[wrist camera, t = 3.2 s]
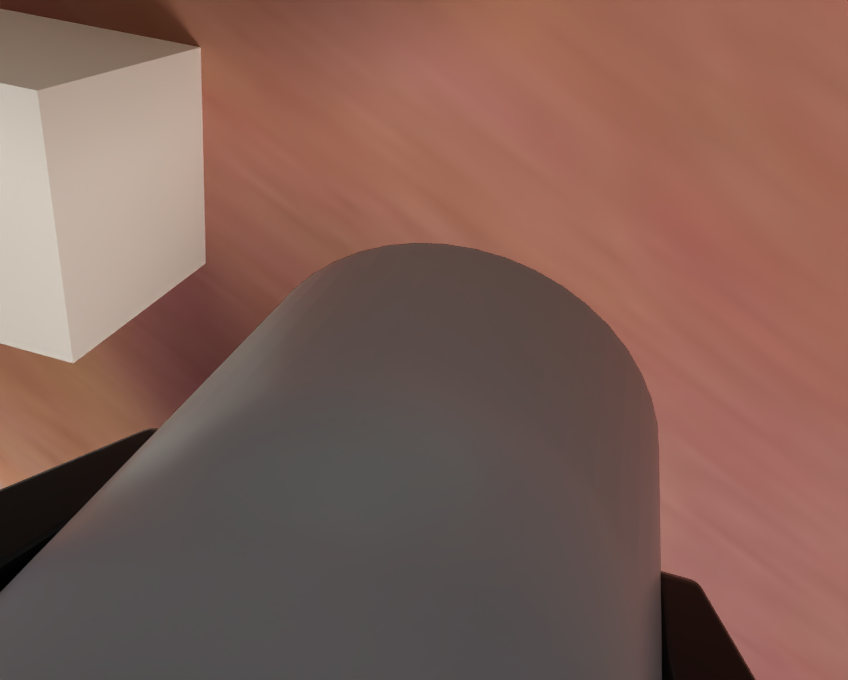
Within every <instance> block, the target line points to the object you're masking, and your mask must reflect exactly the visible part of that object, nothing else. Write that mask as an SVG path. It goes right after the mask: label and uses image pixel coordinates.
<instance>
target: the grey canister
mask: <svg viewBox="0 0 848 680" xmlns="http://www.w3.org/2000/svg"><path fill="white" fill-rule="evenodd" d="M0 680H662V626H661V558H660V489H659V442H658V426H657V420H656V416H655V411H654V407H653V403H652V398H651V396H650V393H649V391H648V388H647V386H646V383H645V381H644V378H643V376H642V373H641V372H640V370H639V368H638V367H637V365H636V363H635V361H634V360H633V358H632V356H631V355H630V353H629V351H628V349H627V348H626V347H625V346H624V344H623V343H622V342H621V340H620V339H619V338H618V337H617V335H616V334H615V333H614V332H613V330H612V329H611V328H610V326H609V325H608V324H607V323H606V322H605V321H603V320H602V319H601V318H600V317H599V316H598V315H597V314H596V313H595V312H594V311H593V310H592V309H591V308H590V307H589V306H588V305H587V304H586V303H584V302H583V301H582V300H580V299H579V298H578V297H576V296H575V295H574V294H572V293H571V292H570V291H568V290H567V289H566V288H564V287H563V286H562V285H560V284H558V283H556V282H555V281H553V280H551V279H549V278H548V277H546V276H544V275H542V274H541V273H539V272H537V271H535V270H533V269H531V268H529V267H526V266H524V265H522V264H519V263H517V262H515V261H512V260H510V259H507V258H505V257H501V256H498V255H494V254H491V253H488V252H484V251H481V250H477V249H472V248H466V247H460V246H454V245H448V244H429V243H410V244H399V245H388V246H383V247H378V248H374V249H370V250H366V251H361V252H358V253H355V254H353V255H350V256H348V257H345V258H342V259H340V260H337V261H335V262H333V263H331V264H329V265H328V266H326V267H324V268H322V269H321V270H319V271H317V272H315V273H314V274H312V275H311V276H310V277H308V278H307V279H306V280H305V281H303V282H302V283H301V284H300V285H299V286H297V287H296V288H295V289H294V290H293V291H292V292H291V293H290V294H289V295H288V296H287V297H286V298H285V299H284V300H283V301H282V302H281V303H280V304H279V305H278V306H277V307H276V308H275V309H274V310H273V311H272V312H271V313H270V314H269V315H268V316H267V318H266V319H265V320H264V321H263V322H262V323H261V324H260V325H259V326H258V327H257V328H256V329H255V330H254V331H253V332H252V333H251V334H250V335H249V336H248V337H247V338H246V339H245V340H244V341H243V342H242V343H241V344H240V345H239V346H238V347H237V348H236V350H235V351H234V352H233V353H232V354H231V355H230V356H229V357H228V358H227V359H226V360H225V361H224V362H223V363H222V364H221V365H220V366H219V367H218V368H217V369H216V370H215V371H214V372H213V373H212V374H211V375H210V376H209V377H208V378H207V379H206V380H205V382H204V383H203V384H202V385H201V386H200V387H199V388H198V389H197V390H196V391H195V392H194V393H193V394H192V395H191V396H190V397H189V398H188V399H187V400H186V401H185V402H184V403H183V404H182V405H181V406H180V407H179V408H178V409H177V410H176V411H175V412H174V414H173V415H172V416H171V417H170V418H169V419H168V420H167V421H166V422H165V423H164V424H163V425H162V426H161V427H160V428H159V429H158V430H157V431H156V432H155V433H154V434H153V435H152V436H151V437H150V438H149V439H148V440H147V441H146V442H145V443H144V444H143V446H142V447H141V448H140V449H139V450H138V451H137V452H136V453H135V454H134V455H133V456H132V457H131V458H130V459H129V460H128V461H127V462H126V463H125V464H124V465H123V466H122V467H121V468H120V469H119V470H118V471H117V472H116V473H115V474H114V475H113V476H112V478H111V479H110V480H109V481H108V482H107V483H106V484H105V485H104V486H103V487H102V488H101V489H100V490H99V491H98V492H97V493H96V494H95V495H94V496H93V497H92V498H91V499H90V500H89V501H88V502H87V503H86V504H85V505H84V506H83V507H82V508H81V510H80V511H79V512H78V513H77V514H76V515H75V516H74V517H73V518H72V519H71V520H70V521H69V522H68V523H67V524H66V525H65V526H64V527H63V528H62V529H61V530H60V531H59V532H58V533H57V534H56V535H55V536H54V537H53V538H52V539H51V540H50V542H49V543H48V544H47V545H46V546H45V547H44V548H43V549H42V550H41V551H40V552H39V553H38V554H37V555H36V556H35V557H34V558H33V559H32V560H31V561H30V562H29V563H28V564H27V565H26V566H25V567H24V568H23V569H22V570H21V571H20V572H19V574H18V575H17V576H16V577H15V578H14V579H13V580H12V581H11V582H10V583H9V584H8V585H7V586H6V587H5V588H4V589H3V590H2V591H1V592H0Z"/></svg>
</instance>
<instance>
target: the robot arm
mask: <svg viewBox="0 0 848 680" xmlns="http://www.w3.org/2000/svg"><path fill="white" fill-rule="evenodd" d="M157 430H158V429H155V428H150V429H146V430H143V431H141V432H138V433H136V434H133V435H131V436H129V437H126V438H124V439H121V440H119V441H117V442H114V443H112V444H109V445H107V446H104V447H102V448H100V449H97V450H95V451H92V452H90V453H88V454H85V455H83V456H80V457H78V458H75V459H73V460H71V461H68V462H66V463H63V464H61V465H59V466H56V467H54V468H51V469H49V470H47V471H44V472H42V473H39V474H37V475H34V476H32V477H30V478H27V479H25V480H22V481H20V482H18V483H15V484H13V485H10V486H8V487H5V488H3V489H1V490H0V592H1V591H2V590H3V589H4V588H5V587H6V586H7V585H8V584H9V583H10V582H11V581H12V580H13V579H14V578H15V577H16V576H17V575H18V574H19V572H20V571H21V570H22V569H23V568H24V567H25V566H26V565H27V564H28V563H29V562H30V561H31V560H32V559H33V558H34V557H35V556H36V555H37V554H38V553H39V552H40V551H41V550H42V549H43V548H44V547H45V546H46V545H47V544H48V543H49V542H50V540H51V539H52V538H53V537H54V536H55V535H56V534H57V533H58V532H59V531H60V530H61V529H62V528H63V527H64V526H65V525H66V524H67V523H68V522H69V521H70V520H71V519H72V518H73V517H74V516H75V515H76V514H77V513H78V512H79V511H80V510H81V508H82V507H83V506H84V505H85V504H86V503H87V502H88V501H89V500H90V499H91V498H92V497H93V496H94V495H95V494H96V493H97V492H98V491H99V490H100V489H101V488H102V487H103V486H104V485H105V484H106V483H107V482H108V481H109V480H110V479H111V478H112V476H113V475H114V474H115V473H116V472H117V471H118V470H119V469H120V468H121V467H122V466H123V465H124V464H125V463H126V462H127V461H128V460H129V459H130V458H131V457H132V456H133V455H134V454H135V453H136V452H137V451H138V450H139V449H140V448H141V447H142V446H143V444H144V443H145V442H146V441H147V440H148V439H149V438H150V437H151V436H152V435H153V434H154V433H155V432H156V431H157ZM661 626H662V680H755V678H754V676H753V674H752V673H751V671H750V669H749V668H748V666H747V664H746V663H745V661H744V659H743V657H742V656H741V654H740V652H739V651H738V649H737V647H736V645H735V644H734V642H733V640H732V639H731V637H730V635H729V634H728V632H727V630H726V628H725V627H724V625H723V623H722V622H721V620H720V618H719V616H718V615H717V613H716V611H715V610H714V608H713V606H712V605H711V603H710V601H709V599H708V598H707V596H706V594H705V593H704V591H703V589H702V588H701V586H700V585H699V584H698V583H697V582H695V581H693V580H691V579H688V578H684V577H681V576H677V575H673V574H670V573H666V572H663V571H661Z"/></svg>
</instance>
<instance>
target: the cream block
mask: <svg viewBox="0 0 848 680" xmlns="http://www.w3.org/2000/svg"><path fill="white" fill-rule="evenodd" d="M204 264H206V251H205V209H204V167H203V124H202V82H201V47H197V46H192V45H186V44H181V43H176V42H171V41H166V40H161V39H155V38H150V37H145V36H140V35H135V34H130V33H124V32H119V31H114V30H109V29H104V28H99V27H93V26H88V25H83V24H78V23H73V22H67V21H62V20H57V19H52V18H47V17H42V16H36V15H31V14H26V13H21V12H16V11H11V10H5V9H0V343H1V344H5V345H8V346H12V347H15V348H19V349H23V350H26V351H30V352H34V353H37V354H41V355H45V356H48V357H52V358H55V359H59V360H63V361H66V362H70V363H75V362H76V361H77V360H79V359H80V358H81V357H82V356H84V355H85V354H86V353H88V352H89V351H90V350H92V349H93V348H94V347H96V346H97V345H98V344H100V343H101V342H102V341H104V340H105V339H106V338H108V337H109V336H110V335H112V334H113V333H114V332H116V331H117V330H118V329H120V328H121V327H122V326H124V325H125V324H126V323H128V322H129V321H130V320H131V319H133V318H134V317H135V316H137V315H138V314H139V313H141V312H142V311H143V310H145V309H146V308H147V307H149V306H150V305H151V304H153V303H154V302H155V301H157V300H158V299H159V298H161V297H162V296H163V295H165V294H166V293H167V292H169V291H170V290H171V289H173V288H174V287H175V286H176V285H178V284H179V283H180V282H182V281H183V280H184V279H186V278H187V277H188V276H190V275H191V274H192V273H194V272H195V271H196V270H198V269H199V268H200V267H202V266H203V265H204Z"/></svg>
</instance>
